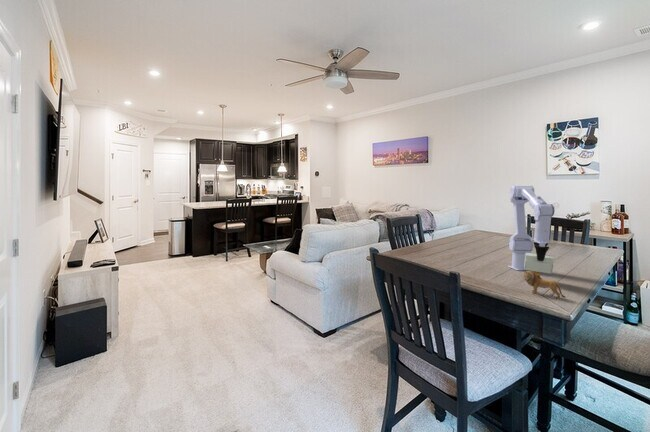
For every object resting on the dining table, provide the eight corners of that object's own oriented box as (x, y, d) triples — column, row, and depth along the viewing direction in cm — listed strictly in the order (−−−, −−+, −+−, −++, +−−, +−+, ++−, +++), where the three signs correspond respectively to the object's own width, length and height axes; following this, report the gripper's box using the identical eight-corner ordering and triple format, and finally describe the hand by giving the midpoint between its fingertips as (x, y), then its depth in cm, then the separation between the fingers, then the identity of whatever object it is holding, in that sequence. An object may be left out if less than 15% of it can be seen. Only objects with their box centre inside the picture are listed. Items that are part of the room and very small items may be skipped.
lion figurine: (521, 292, 131) (523, 271, 130) (522, 289, 135) (524, 268, 134) (565, 300, 122) (567, 278, 121) (565, 296, 127) (567, 275, 125)
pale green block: (524, 269, 145) (525, 255, 144) (524, 265, 152) (525, 252, 151) (552, 273, 140) (553, 258, 139) (550, 269, 146) (552, 255, 145)
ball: (533, 268, 149) (531, 277, 150) (525, 268, 148) (524, 278, 148) (543, 271, 145) (541, 281, 145) (535, 272, 143) (534, 282, 144)
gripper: (531, 227, 151) (529, 254, 153) (532, 231, 139) (530, 261, 141) (549, 228, 148) (546, 256, 149) (551, 233, 135) (549, 263, 137)
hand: (539, 259), depth 145 cm, fingers closed on pale green block, 6 cm apart
